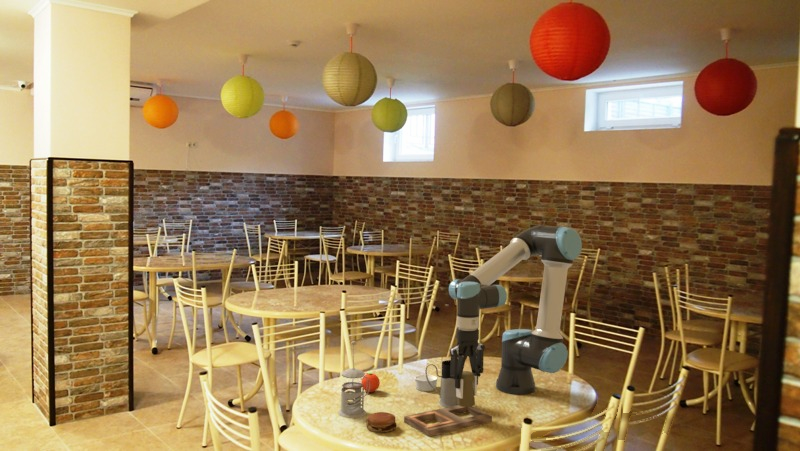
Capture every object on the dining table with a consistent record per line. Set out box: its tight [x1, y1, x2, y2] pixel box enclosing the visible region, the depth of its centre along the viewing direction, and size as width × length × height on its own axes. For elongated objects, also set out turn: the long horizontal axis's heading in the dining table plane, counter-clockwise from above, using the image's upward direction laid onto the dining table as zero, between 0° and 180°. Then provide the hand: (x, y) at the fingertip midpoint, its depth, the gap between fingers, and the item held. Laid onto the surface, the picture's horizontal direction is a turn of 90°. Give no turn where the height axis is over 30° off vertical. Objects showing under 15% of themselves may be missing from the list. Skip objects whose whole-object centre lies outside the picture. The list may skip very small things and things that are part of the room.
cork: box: [457, 370, 476, 407], centre depth 219 cm, size 6×6×11 cm
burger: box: [366, 411, 398, 433], centre depth 208 cm, size 10×9×5 cm
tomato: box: [360, 372, 381, 393], centre depth 245 cm, size 8×7×7 cm
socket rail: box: [403, 405, 493, 437], centre depth 215 cm, size 26×14×2 cm, turn 123°
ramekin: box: [414, 373, 438, 392], centre depth 250 cm, size 9×9×4 cm
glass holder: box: [425, 359, 458, 408], centre depth 234 cm, size 9×14×15 cm, turn 73°
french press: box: [337, 340, 370, 419], centre depth 221 cm, size 10×12×25 cm
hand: (466, 395), depth 219 cm, fingers closed on cork, 5 cm apart
